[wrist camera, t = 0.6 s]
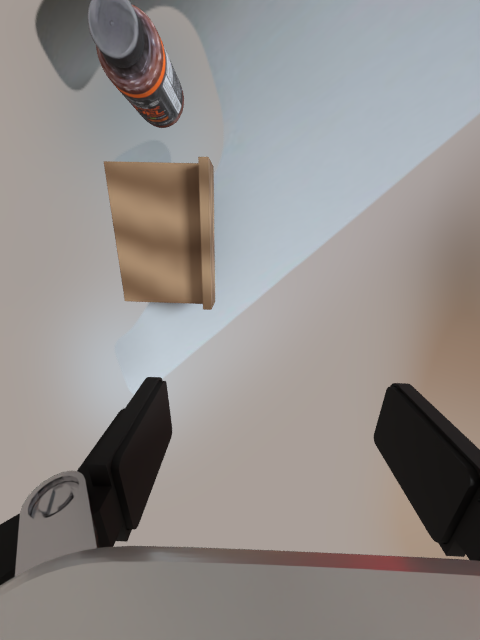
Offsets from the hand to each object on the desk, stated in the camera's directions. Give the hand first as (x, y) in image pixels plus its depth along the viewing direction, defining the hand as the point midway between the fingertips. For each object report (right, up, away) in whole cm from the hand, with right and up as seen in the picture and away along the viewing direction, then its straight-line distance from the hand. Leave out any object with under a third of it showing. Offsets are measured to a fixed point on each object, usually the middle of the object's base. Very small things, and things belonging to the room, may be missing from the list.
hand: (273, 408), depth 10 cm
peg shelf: (-10, +16, +24) cm, 31 cm away
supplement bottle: (-11, +31, +19) cm, 38 cm away
